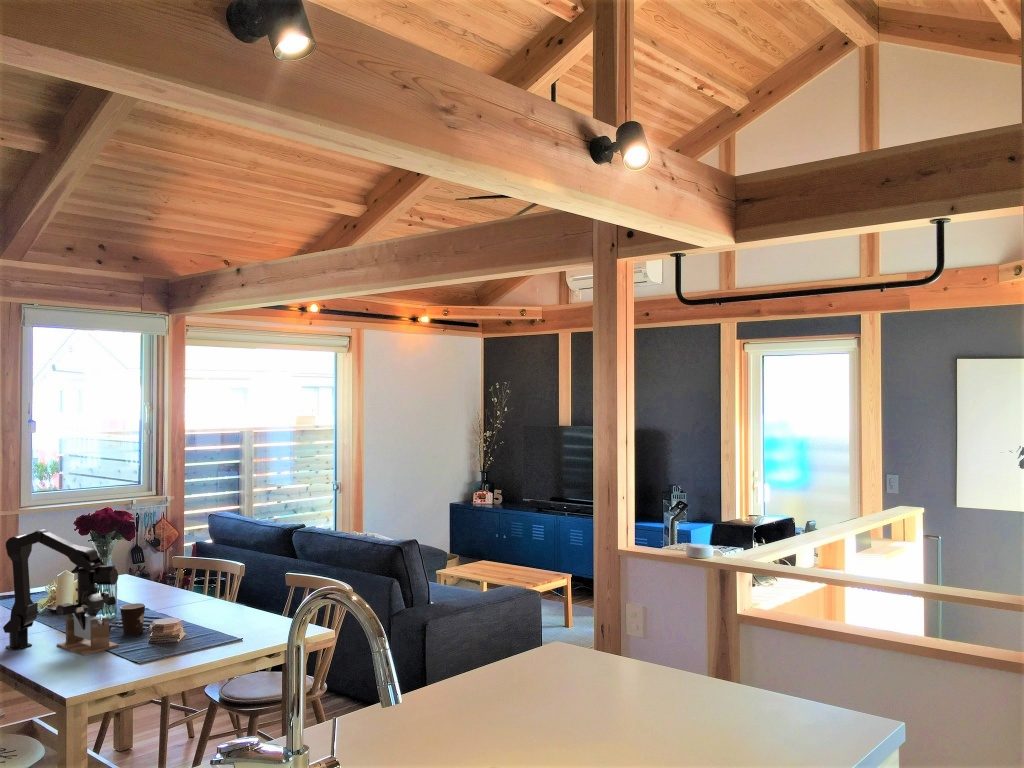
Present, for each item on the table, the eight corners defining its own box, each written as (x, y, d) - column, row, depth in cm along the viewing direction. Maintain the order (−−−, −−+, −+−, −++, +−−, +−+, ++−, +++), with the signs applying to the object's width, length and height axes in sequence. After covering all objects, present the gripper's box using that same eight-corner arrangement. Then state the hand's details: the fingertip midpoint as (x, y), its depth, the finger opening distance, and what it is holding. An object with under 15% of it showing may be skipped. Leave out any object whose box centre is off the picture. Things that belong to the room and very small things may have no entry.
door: (71, 634, 301) (71, 612, 301) (77, 633, 303) (76, 611, 303) (98, 642, 290) (97, 619, 290) (103, 641, 291) (103, 618, 291)
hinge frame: (56, 646, 297) (56, 615, 298) (90, 637, 307) (89, 608, 307) (84, 655, 285) (84, 623, 286) (118, 646, 295) (118, 615, 295)
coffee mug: (129, 637, 307) (129, 610, 307) (115, 634, 311) (115, 607, 312) (157, 629, 317) (157, 603, 317) (143, 626, 321) (143, 600, 322)
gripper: (70, 593, 284) (71, 638, 284) (123, 582, 299) (124, 626, 299) (55, 589, 291) (55, 633, 291) (107, 579, 306) (108, 621, 306)
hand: (87, 628), depth 296 cm, fingers closed on door, 2 cm apart
